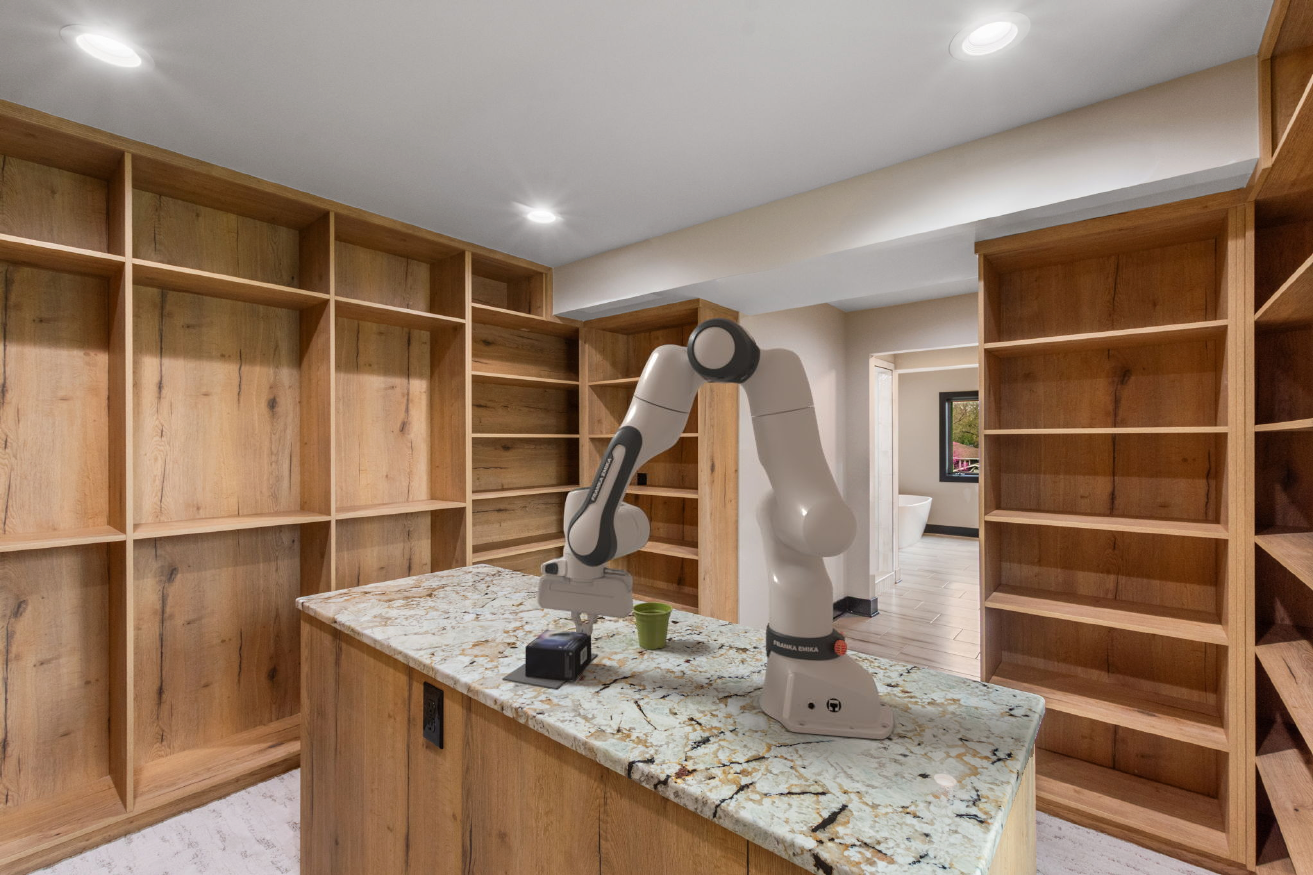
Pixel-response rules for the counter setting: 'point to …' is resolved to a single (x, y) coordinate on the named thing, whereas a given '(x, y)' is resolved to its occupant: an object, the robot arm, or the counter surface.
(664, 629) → the plant pot
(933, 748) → the counter surface
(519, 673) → the mat
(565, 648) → the small box
